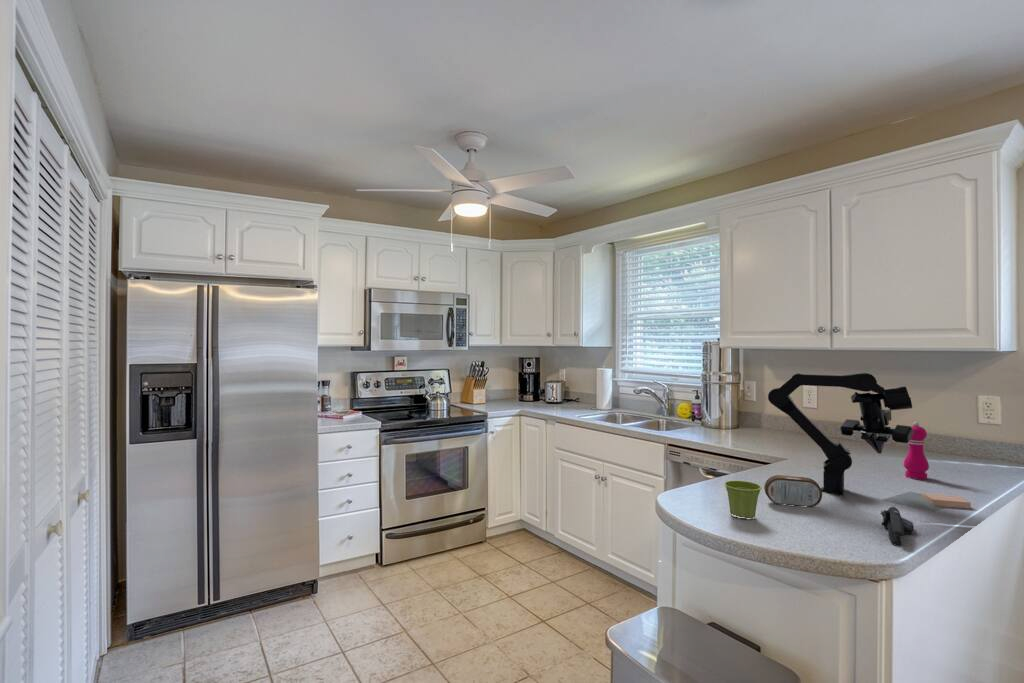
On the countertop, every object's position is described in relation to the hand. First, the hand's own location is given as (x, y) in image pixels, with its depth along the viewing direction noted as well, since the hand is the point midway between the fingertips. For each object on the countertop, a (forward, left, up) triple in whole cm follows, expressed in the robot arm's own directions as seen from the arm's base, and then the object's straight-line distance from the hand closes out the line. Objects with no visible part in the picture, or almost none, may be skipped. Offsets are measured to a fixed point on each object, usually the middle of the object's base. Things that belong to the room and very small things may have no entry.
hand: (879, 452), depth 170 cm
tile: (-3, -14, -11) cm, 18 cm away
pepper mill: (+32, +3, -13) cm, 35 cm away
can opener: (-41, -22, -13) cm, 48 cm away
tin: (-39, +6, -13) cm, 41 cm away
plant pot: (-61, +7, -13) cm, 63 cm away
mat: (-3, -12, -13) cm, 18 cm away
